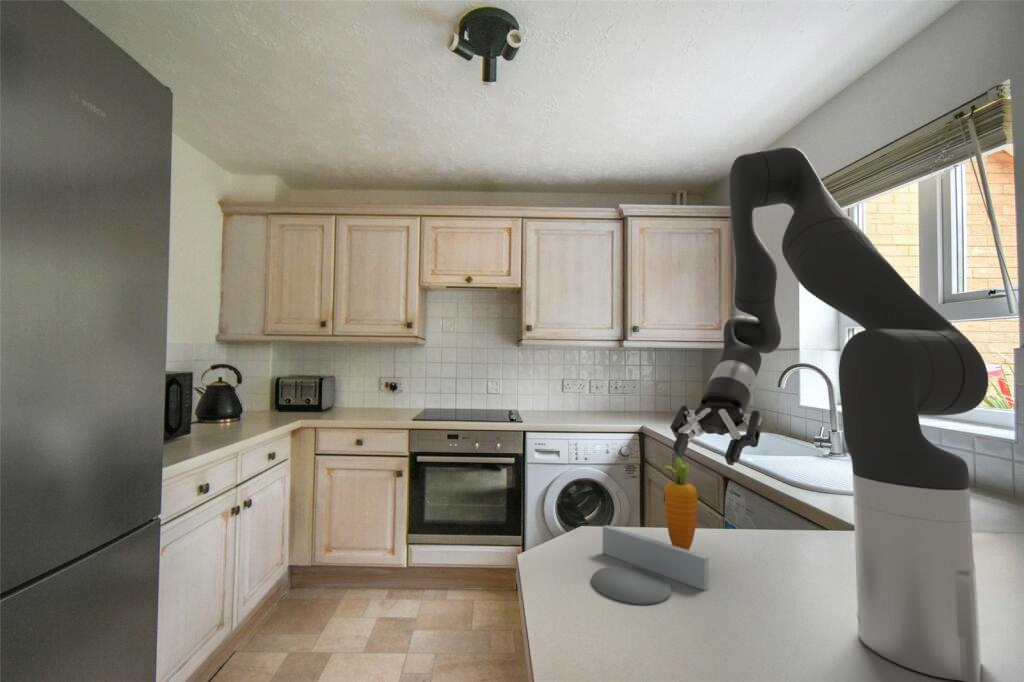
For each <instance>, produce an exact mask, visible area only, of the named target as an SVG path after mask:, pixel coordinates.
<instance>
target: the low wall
mask: <svg viewBox="0 0 1024 682" xmlns="http://www.w3.org/2000/svg"><path fill="white" fill-rule="evenodd" d="M602 554H604V555H606V556H609V557H612V558H615V559H617V560H620V561H623V562H625V563H628V564H631V565H634V566H637V567H639V568H642V569H643V570H644V569H646V571H649V572H652V573H654V574H657V575H661V576H663V577H667V578H668V579H672V580H674V581H678V582H680V583H683V584H685V585H688V586H692V587H693V588H695V589H696V588H697V589H699V590H701V591H706V590H708V589H709V588H710V585H709V584H710V581H709V579H710V578H709V577H710V573H709V572H710V569H709V568H710V567H709V566H710V565H709V563H710V562H709V561H710V558H709V557H710V556H708V555H705V554H702V553H698V552H695V551H692V550H690V549H689V550H686V549H683V548H680V547H676V546H673V545H672V544H670V543H667V542H663V541H659V540H656V539H653V538H650V537H647V536H644V535H640V534H639V533H638V534H637V533H633V532H631V531H627V530H624V529H621V528H617V527H614V526H611V525H608V524H606V525H603V526H602Z"/></svg>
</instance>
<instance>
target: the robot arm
mask: <svg viewBox="0 0 1024 682" xmlns="http://www.w3.org/2000/svg"><path fill="white" fill-rule="evenodd" d="M728 183H729V185H728V186H729V188H728V189H729V204H730V215H731V216H730V217H731V226H732V227H731V228H732V238H733V245H734V254H735V255H734V256H735V280H734V281H735V283H734V301H733V303H734V307H735V308H736V309H737V310H738V311H740V312H742V313H745V314H747V315H749V316H744V315H736V316H735V315H734V316H733V317H730V318H729V319H728V320H726V323H725V324H724V326H723V350H722V355H721V357H720V359H719V361H718V363H717V366H716V368H715V369H714V370H713V372H712V375H711V377H710V379H709V381H708V383H707V385H706V388H705V390H704V392H703V395H702V397H701V400H700V405H699V406H698V407H697V408H695V409H689V408H688V406H687V405H682V406H681V407H680V408H679V410H678V412H677V414H676V415H675V418H674V419H673V420H672V423H671V425H670V426H669V427H670V430H671V431H672V433H673V435H674V438H676V439H675V441H674V443H673V445H672V446H673V447H672V448H673V450H674V452H675V455H676V457H677V458H683V457H684V455H685V452H686V450H687V449H688V445H689V443H690V442H689V441H691V440H692V439H695V437H697V438H699V437H701V436H702V435H704V434H708V435H714V434H716V435H719V436H725V435H727V434H728V435H729V436H730V438H731V439H730V441H729V444H728V445H727V446H728V447H727V449H726V453H725V454H724V460H725V461H726V464H727V465H728V466H734V465H735V463H738V462H739V460H740V458H741V454H742V451H743V450H744V449H745V447H751V448H756V447H758V445H759V442H760V437H761V433H762V428H763V424H764V421H763V419H762V416H761V414H760V411H758V410H753V411H751V413H746V412H747V409H748V407H749V404H750V401H751V398H752V395H753V394H754V389H755V386H756V385H755V384H756V379H757V377H758V374H759V370H760V368H761V365H762V356H761V354H772V353H773V352H774V351H777V349H778V348H779V346H780V343H781V341H782V330H781V326H780V325H781V324H780V323H779V322H780V321H779V318H778V314H777V311H776V305H775V304H776V297H775V296H776V291H777V281H778V280H777V279H778V270H777V266H776V264H777V263H776V262H775V259H774V257H773V255H772V254H771V253H770V251H769V250H768V248H767V247H766V246H765V243H764V242H763V241H762V240H761V238H760V236H759V235H758V232H757V230H756V228H755V224H754V210H755V209H758V208H763V207H768V206H769V207H770V206H776V205H781V204H785V205H788V206H790V208H791V209H792V210H793V213H792V216H791V218H790V220H789V222H788V224H787V226H786V228H785V231H784V233H783V237H782V244H781V251H782V252H781V253H782V255H783V258H784V259H785V261H786V263H787V265H788V267H789V268H790V271H792V273H793V275H794V276H795V278H796V279H797V281H798V283H800V285H801V286H802V287H803V288H804V289H805V290H806V291H807V292H808V293H810V295H812V296H814V297H815V298H817V299H818V300H820V301H822V302H823V303H825V304H826V305H827V306H829V307H831V308H833V309H834V310H836V311H837V312H840V313H841V314H842V315H844V316H846V317H848V318H850V320H853V321H854V322H856V323H857V324H859V326H861V327H862V328H863V329H864V330H862V331H858V332H856V333H855V334H854V335H852V336H851V337H850V338H849V339H848V341H846V343H845V345H844V347H843V349H842V352H841V354H840V358H839V365H838V384H839V385H838V386H839V395H840V396H839V397H840V405H841V414H842V415H841V416H842V425H843V426H842V427H843V437H844V442H845V446H846V449H847V452H848V454H849V456H850V459H851V466H852V468H851V469H852V487H853V488H852V491H853V492H852V493H853V494H852V495H853V518H854V519H853V521H854V550H855V551H854V552H855V555H854V556H855V580H856V584H855V586H856V602H857V603H856V604H857V605H856V608H857V609H856V619H857V631H858V632H857V634H858V637H859V639H860V640H861V642H863V644H865V646H867V647H868V648H869V649H870V650H872V652H875V653H877V654H878V655H879V656H881V657H883V658H885V659H887V660H889V661H891V662H893V663H896V664H898V665H899V666H901V667H904V668H907V669H910V670H912V671H916V672H919V673H922V674H925V675H929V676H932V677H937V678H941V679H945V680H946V679H947V680H954V681H955V680H956V681H961V682H981V665H982V663H981V662H982V660H981V659H982V658H981V657H982V656H981V641H980V625H979V610H978V609H979V608H978V607H979V606H978V590H977V589H978V588H977V572H976V571H977V570H976V563H975V559H974V545H973V544H974V543H973V529H972V528H973V527H972V525H973V524H972V513H971V497H970V496H971V494H970V492H971V491H970V477H969V476H970V473H969V467H968V465H967V462H966V460H965V459H963V458H962V457H961V456H959V455H957V454H955V453H953V452H949V451H946V450H944V449H942V448H940V447H939V446H936V445H935V444H934V443H932V442H931V441H929V440H928V439H927V437H925V436H924V434H923V431H922V427H921V423H920V418H919V416H935V417H937V416H939V417H940V416H952V415H953V416H954V415H960V414H964V413H967V412H970V411H973V410H975V409H976V408H977V407H978V406H980V405H981V403H982V402H983V400H984V399H985V397H986V395H987V394H988V393H987V392H988V388H989V373H988V369H987V366H986V363H985V361H984V358H983V356H982V355H981V353H980V352H979V351H978V349H977V348H976V346H975V345H974V344H973V343H972V342H971V341H970V339H968V338H967V337H966V336H965V335H964V334H963V333H962V331H960V329H958V328H957V327H956V326H954V324H952V323H951V322H950V321H948V319H946V318H945V317H944V316H943V315H941V313H940V312H939V311H937V310H936V309H935V308H933V306H932V305H930V304H929V303H928V302H927V301H925V299H924V298H922V297H921V296H920V295H919V294H918V293H917V292H916V291H915V290H914V289H913V288H912V287H911V285H909V283H908V282H906V280H905V279H904V278H903V277H902V276H901V274H899V273H898V271H897V270H896V269H895V268H894V267H893V266H892V264H890V263H889V261H888V260H887V259H886V258H885V257H884V256H883V255H882V254H881V253H880V252H879V251H878V249H877V248H876V246H875V245H874V244H873V242H872V241H871V240H870V238H869V237H868V236H867V235H866V234H865V233H864V231H862V229H861V228H860V226H859V225H857V223H856V222H855V221H854V220H853V219H852V218H851V217H850V216H849V215H848V214H847V213H846V212H845V211H844V210H843V208H842V207H841V206H840V205H839V204H838V202H837V201H836V200H835V199H834V197H833V196H832V195H831V193H830V192H829V191H828V189H827V188H826V186H825V185H824V183H823V182H822V180H821V179H820V177H819V175H818V173H817V171H816V170H815V169H814V166H813V165H812V163H811V162H810V160H809V159H808V157H807V156H806V154H805V153H804V152H803V151H802V150H801V149H799V148H797V147H796V146H780V147H775V148H768V149H765V150H764V149H763V150H759V151H752V152H748V153H743V154H741V155H739V156H738V157H736V158H735V159H734V161H733V163H732V165H731V168H730V172H729V182H728ZM751 316H752V317H751ZM745 422H746V424H747V428H746V433H745V434H741V433H740V432H739V429H738V427H741V425H743V424H744V423H745ZM698 424H699V426H700V427H699V428H698V427H697V425H698Z"/></svg>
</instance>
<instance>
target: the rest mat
mask: <svg viewBox="0 0 1024 682" xmlns="http://www.w3.org/2000/svg"><path fill="white" fill-rule="evenodd" d="M591 584H592V586H593V588H594V589H595V590H596V591H597V592H598V593H600V594H601V595H603V596H605V597H607V598H609V599H612V600H614V601H617V602H622V603H626V604H631V605H632V604H633V605H639V606H640V605H643V606H648V605H656V604H661V603H663V602H666V601H667V600H668V599H669V598H670V597H671V594H672V588H671V585H670V583H669V582H668V581H666V580H665V579H664V578H663V577H661V576H659V574H657V573H654V572H652V571H649V570H644V569H641V568H635V567H630V566H609V567H604V568H600V569H598V570H596V571H595V572H594V573H593V574H592V575H591Z"/></svg>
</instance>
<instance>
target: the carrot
mask: <svg viewBox="0 0 1024 682" xmlns="http://www.w3.org/2000/svg"><path fill="white" fill-rule="evenodd" d="M675 462H676V463H675V464H676V467H677V470H675V469H674V468H673V467H671V466H670V465H666V466H665V467H664V468H665V470H667V471H668V472H670V473H671V475H672V477H674V480H675V481H671V482H667V484H665V487H664V507H665V508H664V512H665V520H666V526H667V531H668V536H669V539H670V543H671V545H673V546H676V547H680V548H683V549H686V550H689V551H690V549H691V547H692V544H693V541H694V538H695V533H696V526H697V516H698V497H699V496H698V492H697V489H696V487H695V486H694V485H693V484H691V483H688V482H686V480H687V478H688V475H689V471H690V464H689V463H687V462H686V463H685V464H683V462H682V459H681V457H676V458H675Z"/></svg>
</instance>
